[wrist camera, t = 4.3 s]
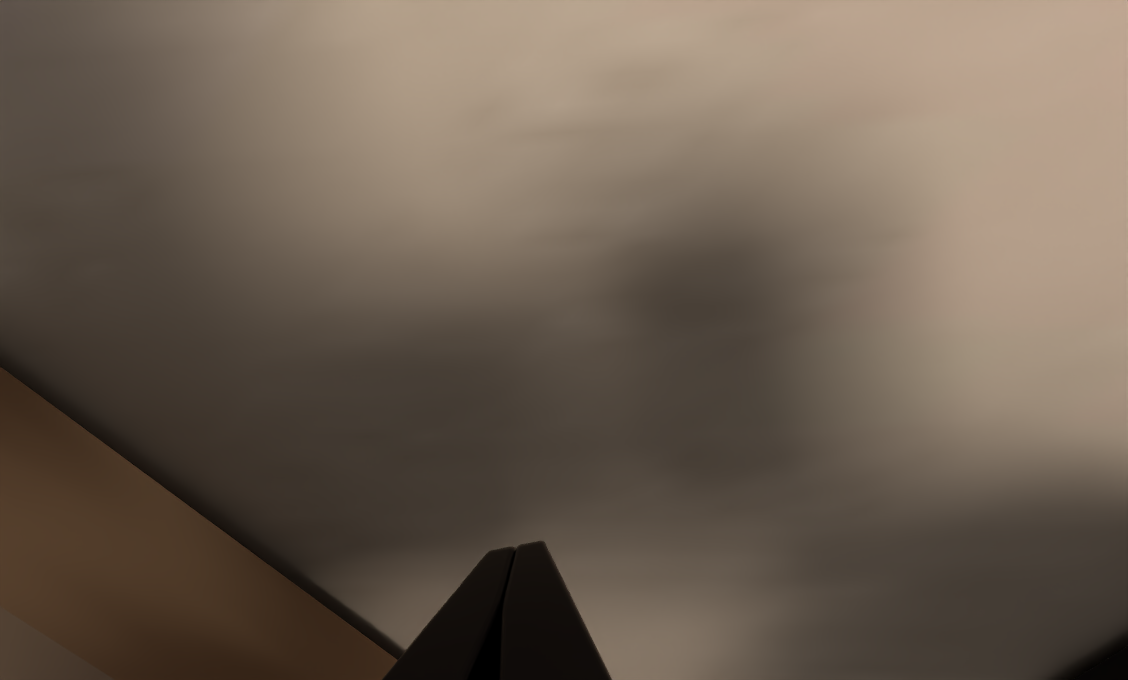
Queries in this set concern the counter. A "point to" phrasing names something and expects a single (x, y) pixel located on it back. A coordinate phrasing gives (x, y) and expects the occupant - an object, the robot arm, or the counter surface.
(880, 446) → the counter surface
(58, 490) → the tan wooden bar
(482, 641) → the robot arm
